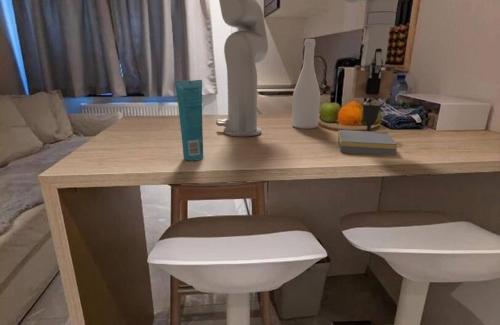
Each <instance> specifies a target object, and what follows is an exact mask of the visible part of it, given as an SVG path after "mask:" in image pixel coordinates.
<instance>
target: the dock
mask: <svg viewBox="0 0 500 325" xmlns="http://www.w3.org/2000/svg"><path fill="white" fill-rule="evenodd" d="M337 140H338V141H337V142H338V145H339V146H338V147H339V151H340V153H349V154H350V153H353V154H366V155H367V154H368V155H382V156H383V155H385V156H396V154H397V148H398V144H397V142H396V141H395V140H394V139H393V138H392V137H391V135H390V134H389V133H388V132H385V131H384V132H383V131H371V132H369V131H366V130H365V131H363V130H362V131H361V130H349V129H347V130H345V129H344V130H343V129H339V130H338V131H337Z"/></svg>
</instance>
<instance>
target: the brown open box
mask: <svg viewBox="0 0 500 325" xmlns="http://www.w3.org/2000/svg"><path fill="white" fill-rule="evenodd" d="M394 70H395V67H394V66H392V65H391V66H390V65H384V69H381V78H380V79H381V81H380V89H379V94H378V95H373V94H366V87H367V79H368V78H369V70H363V68H362V66H361V65H354V70H353V77H352V79H353V80H352V88H351V96H352V98H354V99H355V98H357V99H358V98H359V99H364V98H378V99H379V100H380V99H385V100H390V98H391V91H392V86H393V85H392V84H393V78H394Z"/></svg>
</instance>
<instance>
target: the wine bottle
mask: <svg viewBox="0 0 500 325" xmlns="http://www.w3.org/2000/svg"><path fill="white" fill-rule="evenodd" d="M303 45H304V54H303V66H302V69H301V71H300V73H299V77H298V79H297V82H296V85H295V87H294V90H293V94H292V109H291V110H292V113H291V114H292V115H291V125H292V127H294V128H295V129H303V130H304V129H306V130H308V129H309V130H311V129H316V128H318V126H319V118H320V105H321V90H320V86H319V82H318V79H317V75H316V71H315V70H316V69H315V64H314V63H315V61H314V60H315V46H316V39H315V38H305V40H304V42H303Z"/></svg>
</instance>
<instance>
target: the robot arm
mask: <svg viewBox="0 0 500 325" xmlns="http://www.w3.org/2000/svg"><path fill="white" fill-rule="evenodd" d="M218 1H219V7H220V11H221V17H222V20H223V22H224V23H225V24H226V25H227V26H229V27H232V28H237V31H234V32H232V33H230V35H228V37H227V38H226V39H225V41H224V42H225V43H224V48H223V53H224V58H225V59H224V60H225V64H226V76H227V77H226V78H227V80H226V81H227V118H225V119H218V118H217V119H216V121H215V125H216V126H217V127H224V128H223V134H225V135H227V136H231V137H237V138H239V137H240V138H241V137H243V138H244V137H245V138H246V137H253V136H258V135H260V134H262V128H261V127H258V122H257V121H258V71H257V66H256V64H257V63H260V62H261V61H264V59H265V58H266V57H267V55H268V49H269V43H268V42H269V41H268V36H267V31H266V30H267V29H266V24H265V18H264V12H263V10H262V9H263V8H262V7H261V5H260V3H259V2H258V1H257V0H218ZM344 1H345V2H346V3H349V4H350V3H358V2H364V1H365V6H364V7H365V8H364V16H363V25H362V28H364V29H366V31H365V34H364V35H365V36H364V41H363V42H364V43H363V49H362V55H361V61H360V62H361V63H360V66H361V67H362V68H363V67H367V66H368V65H370V67H369V78H368V79H367V87H366V94H373V95H378V94H379V89H380V81H381V79H380V78H381V70H382V68H384V67H385V66H386V62H387V53H388V46H389V38H390V29H393V28H395V24H396V19H397V18H396V17H397V11H398V10H397V9H398V3H399V0H344ZM372 65H375V66H372Z"/></svg>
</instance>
